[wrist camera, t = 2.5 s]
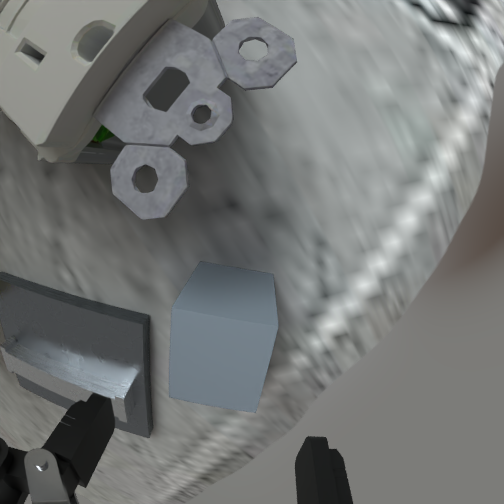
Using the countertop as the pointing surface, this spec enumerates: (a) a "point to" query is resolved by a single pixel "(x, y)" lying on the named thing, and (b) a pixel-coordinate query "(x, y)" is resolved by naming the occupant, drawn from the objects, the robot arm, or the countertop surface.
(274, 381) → the countertop surface
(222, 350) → the block
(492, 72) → the countertop surface
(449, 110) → the countertop surface
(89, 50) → the electrical outlet
